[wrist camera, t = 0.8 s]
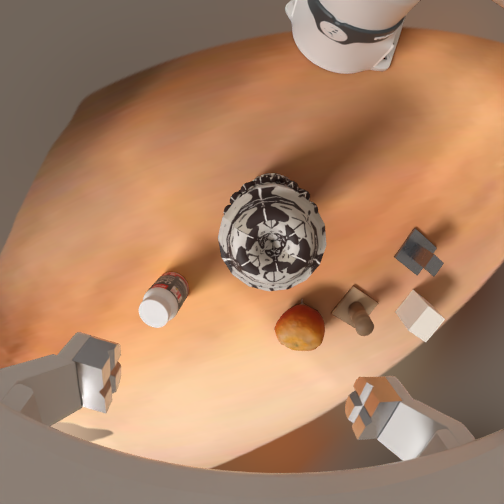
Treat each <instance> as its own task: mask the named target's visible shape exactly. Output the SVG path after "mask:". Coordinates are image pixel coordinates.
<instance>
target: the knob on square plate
mask: <svg viewBox="0 0 504 504" xmlns="http://www.w3.org/2000/svg"><path fill="white" fill-rule="evenodd" d="M377 305H378V302H376V301H375V300H373V299H372V298H370V297H369V296H368V295H366V294H365V293H363V292H362V291H360V290H359V289H357V288H356V287H354V286H352V287H351V289H350V290H349V291H348V292H347V294H346V295H345V296H344V297H343V299H342V300H341V301H340V302H339V304H338V305H337V306H336V307H335V309H334V310H333V311H332V312H331V313H332V314H333V315H334V316H336V317H338V318H339V319H341V320H343V321H344V322H346V323H347V324H349V325H351V326H352V327H354V328H356V331H357V333H358V334H359V335H361V336H366V335H369V334H370V333H371V332H372V331H373V329H374V324H373V322H372V321H371V319H370V317H369V314H370V313H371V312H372V311H373V310H374V308H375V307H376V306H377Z"/></svg>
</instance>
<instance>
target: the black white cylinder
mask: <svg viewBox="0 0 504 504" xmlns="http://www.w3.org/2000/svg"><path fill="white" fill-rule="evenodd" d="M309 199H310V194H309V193H308V192H307V191H306V190H303V189H301V188H299V187H298V185H297V183H296V182H294V181H291V180H290V179H289V178H288V177H286V176H282V175H280V174H277V173H271V174H269V173H266V174H263V175H261V176H258V177H256V178H255V179H254V180H253V181H251V182H248V183H245V184H244V185H243V186H242V187H241V190H239V191H238V192H235V193H234V194H233V195H232V196H231V198H230V203H231V205H227V206H226V207H225V209H224V216H223V218H222V222H221V226H220V231H219V235H218V240H219V246H220V252H221V257H222V259H223V260H224V262H225V264H226V265H227V267H228V268H229V270H230V272H231V273H232V274H233V275H234V276H235V277H237V278H238V279H239V280H241V281H242V282H244V283H245V284H246V285H248V286H250V287H254V288H258V289H262V290H266V291H275V290H284V289H289V288H291V287H293V286H295V285H297V284H299V283H301V282H303V281H305V280H307V279H308V277H309V276H310V275H311V274H312V273H313V272H314V271H315V269H316V268H317V267H318V266H319V265H320V262H321V259H322V256H323V254H324V251H325V248H326V235H325V224H324V222H323V220H322V219H321V217H320V215H319V213H318V208H317V206H316V204H315V203H313V202H310V201H309Z"/></svg>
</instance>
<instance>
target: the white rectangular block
mask: <svg viewBox="0 0 504 504" xmlns="http://www.w3.org/2000/svg"><path fill="white" fill-rule="evenodd" d="M395 312H396V314H397V315H398V317H399V318H400V319H401V321H402V322H403V324H404V325H405V326H406V328H407V329H408V331H410V332H411V333H413V334H414V335H416V336H417V337H419V338H420V339H422V340H423V341H425V342H426V341H427V340H428V339H429V338H430V337H431V336H432V334H433V333H434V332H435V331H436V330H437V329H438V327H439V326H440V325H441V324H442V322H443V321H444V320H445V319H444V318H443V316H442V315H441V314H440V313H439V312H438V311H437V310H436V309H435V308H434V307H433V306H432V305H431V304H430V303H429V302H428V301H427V300H426V299H424V298H423V297H422V296H421V295H419V294H418V293H417V292H416V291H414V290H412V291H411V292H410V294H409V295H408V296H407V297H406V299H405V300H404V301H403V303H402V304H401V305H400V306H399V307H398V309H397V310H396V311H395Z"/></svg>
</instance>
